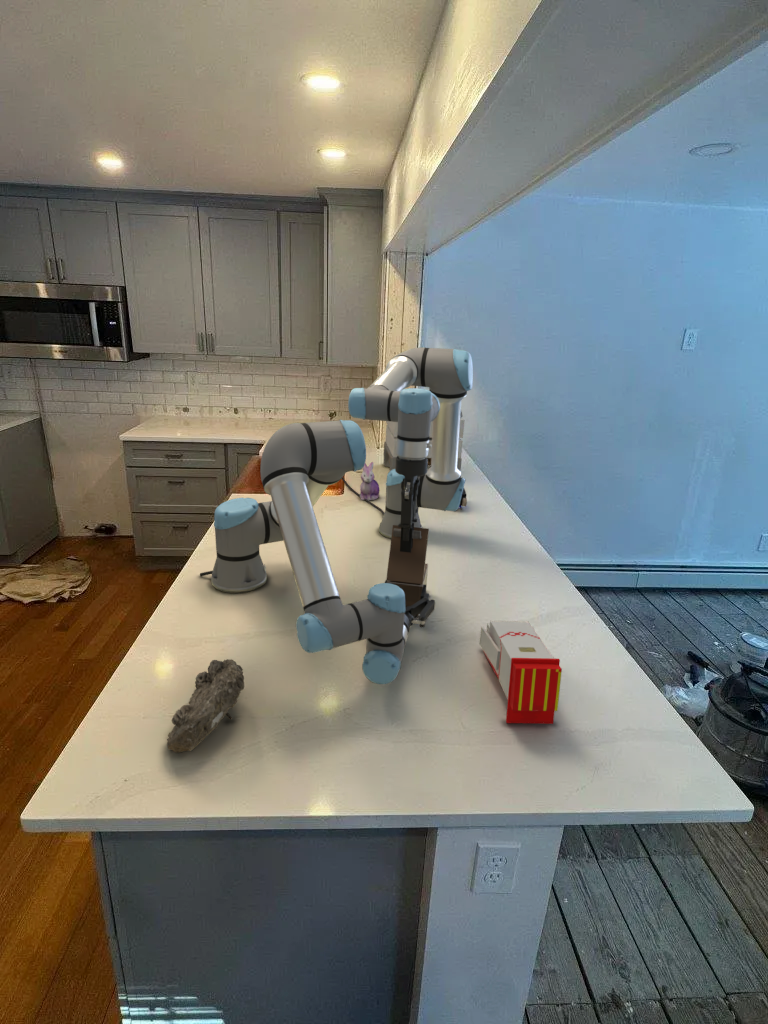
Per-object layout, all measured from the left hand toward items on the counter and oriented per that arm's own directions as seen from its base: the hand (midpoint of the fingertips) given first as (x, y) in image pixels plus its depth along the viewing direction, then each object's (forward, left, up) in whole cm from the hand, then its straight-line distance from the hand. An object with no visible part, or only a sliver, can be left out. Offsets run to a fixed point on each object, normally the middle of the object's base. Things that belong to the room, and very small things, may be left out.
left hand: (405, 587), depth 148 cm
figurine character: (+9, +88, -6) cm, 89 cm away
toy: (+27, -25, -6) cm, 38 cm away
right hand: (0, -4, +13) cm, 13 cm away
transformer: (-11, +132, -6) cm, 133 cm away
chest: (0, +4, -6) cm, 7 cm away
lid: (0, +1, +9) cm, 9 cm away
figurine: (-27, +88, -6) cm, 92 cm away
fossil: (-30, -50, -6) cm, 59 cm away
